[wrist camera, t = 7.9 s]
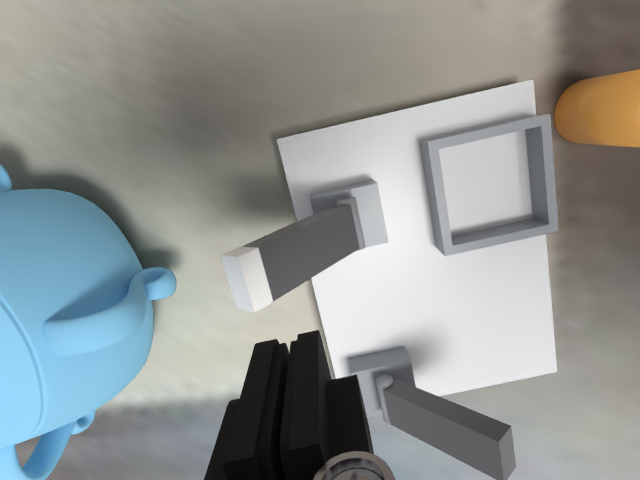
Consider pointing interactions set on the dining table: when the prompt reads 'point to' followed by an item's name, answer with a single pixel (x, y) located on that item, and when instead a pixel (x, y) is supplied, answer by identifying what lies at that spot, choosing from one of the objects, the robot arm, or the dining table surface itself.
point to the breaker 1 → (292, 255)
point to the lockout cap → (601, 111)
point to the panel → (436, 241)
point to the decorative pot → (65, 320)
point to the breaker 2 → (448, 427)
